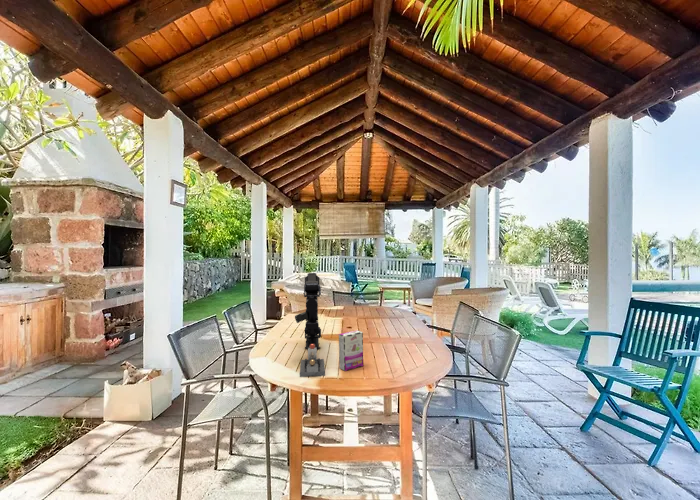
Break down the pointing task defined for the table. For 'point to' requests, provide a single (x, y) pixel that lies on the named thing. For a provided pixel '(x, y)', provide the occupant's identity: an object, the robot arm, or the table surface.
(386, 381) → the table surface
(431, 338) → the table surface
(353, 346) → the candy bar box
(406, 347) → the table surface
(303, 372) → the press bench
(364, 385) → the table surface
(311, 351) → the lever
